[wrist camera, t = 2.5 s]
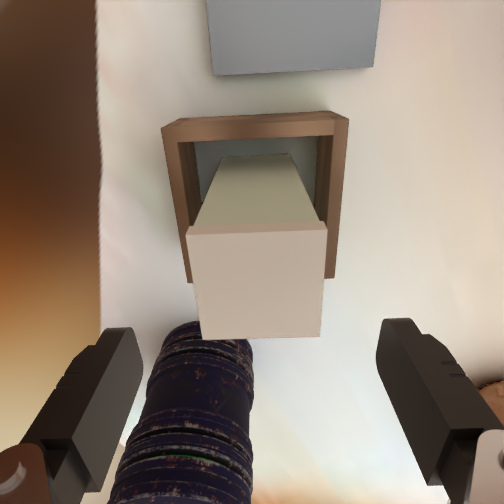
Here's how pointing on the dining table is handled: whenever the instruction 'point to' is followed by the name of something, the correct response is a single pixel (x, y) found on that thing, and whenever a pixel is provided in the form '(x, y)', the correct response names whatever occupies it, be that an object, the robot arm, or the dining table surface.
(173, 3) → the dining table surface
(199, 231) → the tea tin
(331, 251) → the crate
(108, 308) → the dining table surface
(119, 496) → the dark blue cylinder
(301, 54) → the blue-grey square panel
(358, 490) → the dining table surface
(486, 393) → the onion
